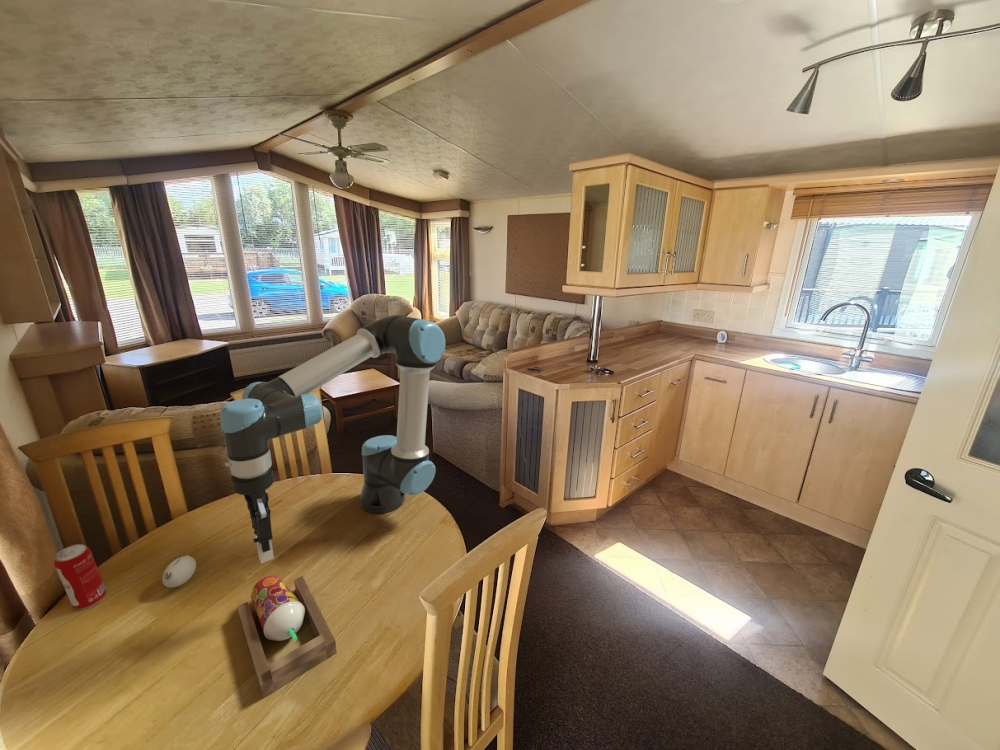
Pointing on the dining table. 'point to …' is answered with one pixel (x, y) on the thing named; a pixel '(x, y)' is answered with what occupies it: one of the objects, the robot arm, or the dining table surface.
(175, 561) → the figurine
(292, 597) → the smoothie
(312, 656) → the u rest
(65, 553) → the beverage can
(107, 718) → the dining table surface
